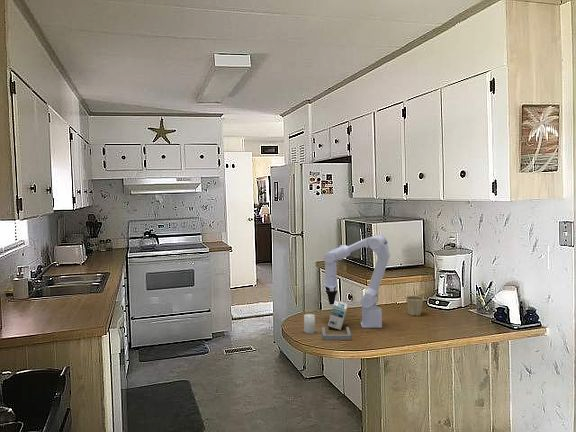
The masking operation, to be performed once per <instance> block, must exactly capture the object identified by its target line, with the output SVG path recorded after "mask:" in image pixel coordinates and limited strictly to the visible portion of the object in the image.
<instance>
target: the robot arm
mask: <svg viewBox="0 0 576 432" xmlns="http://www.w3.org/2000/svg"><path fill="white" fill-rule="evenodd" d="M362 248H366V249H369V248H370V249H371V250H372V251H373V252H374V253H375V255H376V256H377V259H376V263H375V267H374V270H373V271H372V274H371V278H370V280H369V283H368V287H367V289H366V291H365V293H364V295H363V296H361V298H360V304H361V321H360V325H361V328H364V329H365V328H369V329H370V328H372V329H373V328H383V313H382V312H383V311H382V308H381V307H378V305H377V303H378V302H379V293H380V292H379V289H380V287H381V284H382V281H383V278H384V275H385V271H386V268H387V266H388V264H389V260H390V256H391V254H390V250H389V242H388V240H387V238H386V237H385V236H384V235H383V234H376V235H375V236H373V235H372V236H370V237H366V238H363V239H361V240H358V241H357V242H354V243H353V244H350V245H345V244H344V245H343V244H341V245H339V247H337V248H332V249H331V251H326V253H324V254H323V257H322V258H323V261H324V271H325V272H324V283H323V284H322V287H324V288H325V293H326V295H327V299H328V304H329V305H334V302H335V300H336V296H337V294H338V290H336V289H337V287H338V281H337V279H338V278H337V275H338V274H337V269H338V268H337V262H338V261H341V260H343V259H344V258H347V257H350V255H351V253H352V252H355V251H357V250H361V249H362Z"/></svg>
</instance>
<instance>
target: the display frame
mask: <svg viewBox="0 0 576 432" xmlns="http://www.w3.org/2000/svg"><path fill="white" fill-rule="evenodd" d="M345 332H346V334H326V329H325V326H322V327H321V335H322V336H321V337H322V341H351V340H352V334H351V330H350V328H349V326H346V327H345Z"/></svg>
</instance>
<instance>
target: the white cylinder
mask: <svg viewBox="0 0 576 432" xmlns="http://www.w3.org/2000/svg"><path fill="white" fill-rule="evenodd" d="M303 322H304V325H303V328H304V329H303V332H304V333H305V334H309V335H310V334H312V335H313V334H315V333H316V314H314V313H305V314H304V315H303Z"/></svg>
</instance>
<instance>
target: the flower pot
mask: <svg viewBox="0 0 576 432" xmlns="http://www.w3.org/2000/svg"><path fill="white" fill-rule="evenodd" d="M405 299H406V303H407V313H408V315H410V316H416V317H417V316H418V317H419V316H421V314H422V309H423V304H424V303H423V302H424V300H425V298H424V297H423V296H419V295H418V296H417V295H409V296H406V297H405Z"/></svg>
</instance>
